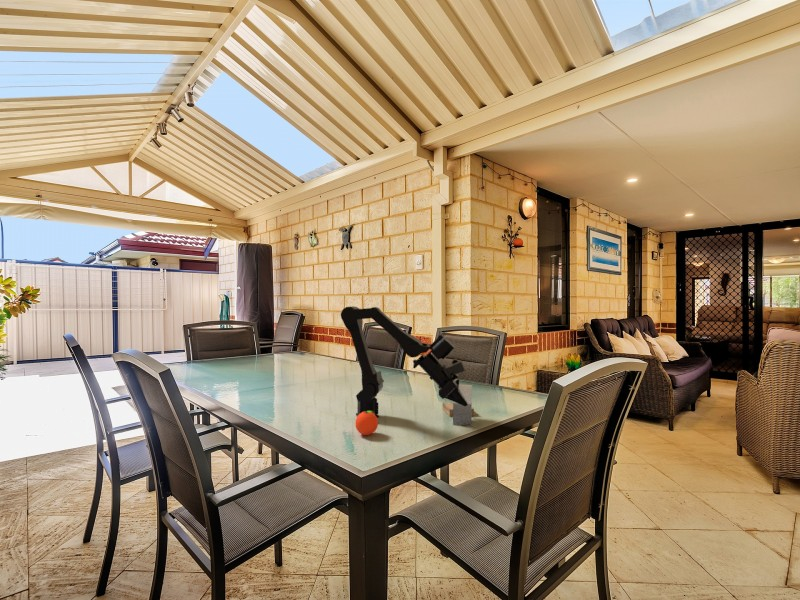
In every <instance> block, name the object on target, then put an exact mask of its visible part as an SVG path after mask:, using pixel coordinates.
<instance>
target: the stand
mask: <svg viewBox="0 0 800 600" xmlns="http://www.w3.org/2000/svg"><path fill="white" fill-rule="evenodd" d="M442 411H443V412H444V413H445V414H446V415H448V416H449V417H452V418H453V402H442ZM474 415H475V408H474V407H473V406H472V416H474Z"/></svg>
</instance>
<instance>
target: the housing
mask: <svg viewBox="0 0 800 600" xmlns="http://www.w3.org/2000/svg"><path fill="white" fill-rule="evenodd" d="M472 386H473V385H472V384H459V385H458V390H459V392H460V394H461V395H462V396H463V398H464V399H465V401H466V402H467V404H468V405H467V406H463V405H461V404H458V403H456V402H454V401H452V403H453V417H452V425H453V426H469V427H470V426H471V427H472V407H473V404H472V403H473V401H472V397H473V396H472V395H473V393H472V392H473V391H472V390H473V387H472Z"/></svg>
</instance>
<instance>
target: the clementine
mask: <svg viewBox="0 0 800 600" xmlns="http://www.w3.org/2000/svg"><path fill="white" fill-rule="evenodd" d="M372 412H373V411H365V412H362V413H360V414H359V415H358V416H356V419H355V423H354V424H355V425H354V426H355V428H356V430H357V432H358V433H359V434H361V435H363V436H369V435H372V434H374V433H375V432H376V431H377V430H378V429H377V428H378V426H379V418H377V417H376V415H375V413H374V412H373V413H374V414H373V413H372Z"/></svg>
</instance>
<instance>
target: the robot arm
mask: <svg viewBox="0 0 800 600" xmlns="http://www.w3.org/2000/svg"><path fill="white" fill-rule="evenodd" d="M340 318H341V321H342V322H343V324H344V326H345V328H346V329H347V331H348V332H349V334H350V337H351V339H352V343H353V347H354V349H355V353H356V357H357V360H358V363H359V366H360V367H359V368H360V370H361V387H362V389H360V391H359V392H358V393H357V394H356V395H355V398H356V402H357V413H355V416H356V417H358V415H359V414H360V413H362V412H365V411H373V412H374V413H375V415H376V417H377V419H379V417H380V416H379V402H378V398H376V397H377V396H378V394H379V393H380V392H381V391H382V390H383V387H384V382H385V380H384V379H383V377H382V371H381V370H379V371H377V370H376V368H375V367H374V364H373V360H372V357H371V354H370V351H369V347H368V343H367V340H366V337H365V334H364V331H363V326H364V325H363V323H364V322H363V320H366V319H367V320H368V319H372V320H373V321H374V322H375V323H376V324H378V325H379V326H380V327H381V328H382V329H383V330H385V332H386V333H388V334H389V335H390V337H392V338H393V339H395V340H396V342H397V343H398V345H399V346H400V348H401V349H402V350H403V352H404V353H405V354H406V355H407V356H408V357H410V358H417V357H418V358H417V359H413V360H412V363H413V367H412V369H416V368H417V367H418V366H419V367H420V368H421V369H422V370H423V371H424V372H425V373H426V374H427V375H428V376H429V379H430V381H433V382H434V383H435V384H436V385H437V386H438V387H437V388H438V396H439V397H440V398H441V399H442V400H443V399H444V400H445V399H446V400H449V401H451V402H453V401H454V402H456V403H458V404H461V405H463V406H467V405H468V404H467V402H466V401H465V399H464V398H463V396H462V395H461V394H460V392H459V390H458V385H460V378H459V374H460V373H463V372H465V371H466V368H465V365H464V363H463V361H462V360H458V359H457V358H454V359H452V361H451V364H449V365H447V366H446V365H445V364H442V363H441V362H440V361H439V360H441V359H442V360H445V359H446V358H447V357H448V356H449V355H450V354H451V353H452V352H453V351H455V349H456V346H455V345H454V344H453V343H452V342H451V340H449V339H447V338H446V337H445V335H443V334H440V335H438V336H437V337H436V339H435V340H434V341H433V342H431V343H427V342H426V343H425V342H422V340H420V339H418V338H417V337H415V336H414V335H412V334H410V333H408V332H406V331H404V330H403V329H402V328H401V327H400V326H399V325H398V324H396V322H394V321H393V320H392V319H391V318H390V317H389V316H388V315H387V314H385V313H384V312H383V311H382V310H381V309H380V307H377V306H374V307H373V306H372V307H370V308H369V307H368V308H359V307H357V306H353V305H352V306H346V307H344V308H343V309H342V310H341V312H340ZM429 350H430V351H429ZM428 351H429V352H428ZM427 352H428V353H427ZM425 353H426V355H425ZM373 412H372V413H373ZM374 413H373V414H374Z"/></svg>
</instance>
